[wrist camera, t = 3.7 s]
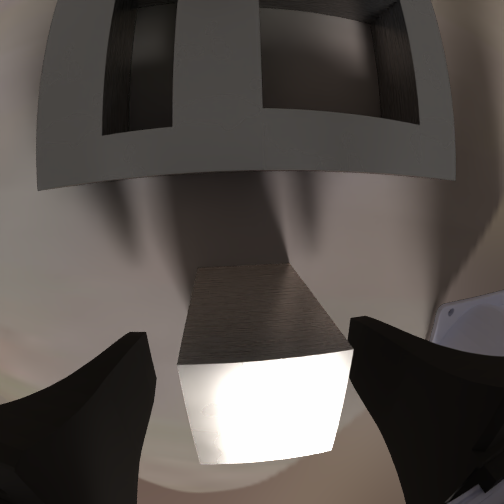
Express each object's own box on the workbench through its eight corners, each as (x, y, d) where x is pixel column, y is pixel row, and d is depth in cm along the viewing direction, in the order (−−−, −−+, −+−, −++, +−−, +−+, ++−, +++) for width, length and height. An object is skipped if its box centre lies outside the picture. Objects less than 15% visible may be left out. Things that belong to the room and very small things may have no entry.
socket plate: (396, 5, 10) (425, -17, 7) (415, 176, 13) (455, 180, 10) (89, -1, 9) (67, -28, 6) (73, 185, 11) (37, 191, 8)
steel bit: (289, 262, 13) (353, 349, 6) (287, 340, 14) (331, 450, 7) (197, 267, 13) (177, 365, 6) (205, 346, 14) (200, 464, 7)
